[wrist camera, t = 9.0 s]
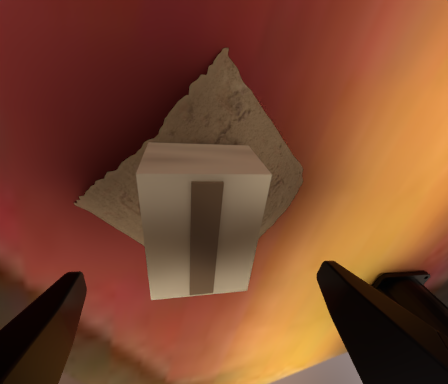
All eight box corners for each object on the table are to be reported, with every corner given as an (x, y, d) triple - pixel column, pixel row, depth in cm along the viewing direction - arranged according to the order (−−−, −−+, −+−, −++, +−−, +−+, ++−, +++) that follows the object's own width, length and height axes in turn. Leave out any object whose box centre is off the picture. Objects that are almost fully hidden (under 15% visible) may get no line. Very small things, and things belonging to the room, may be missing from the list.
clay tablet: (230, 34, 11) (243, 27, 9) (318, 164, 16) (341, 181, 14) (65, 208, 14) (44, 236, 12) (180, 272, 19) (180, 301, 17)
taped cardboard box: (233, 245, 15) (247, 293, 12) (157, 249, 14) (150, 302, 11) (248, 145, 12) (273, 176, 8) (148, 142, 11) (135, 175, 8)
